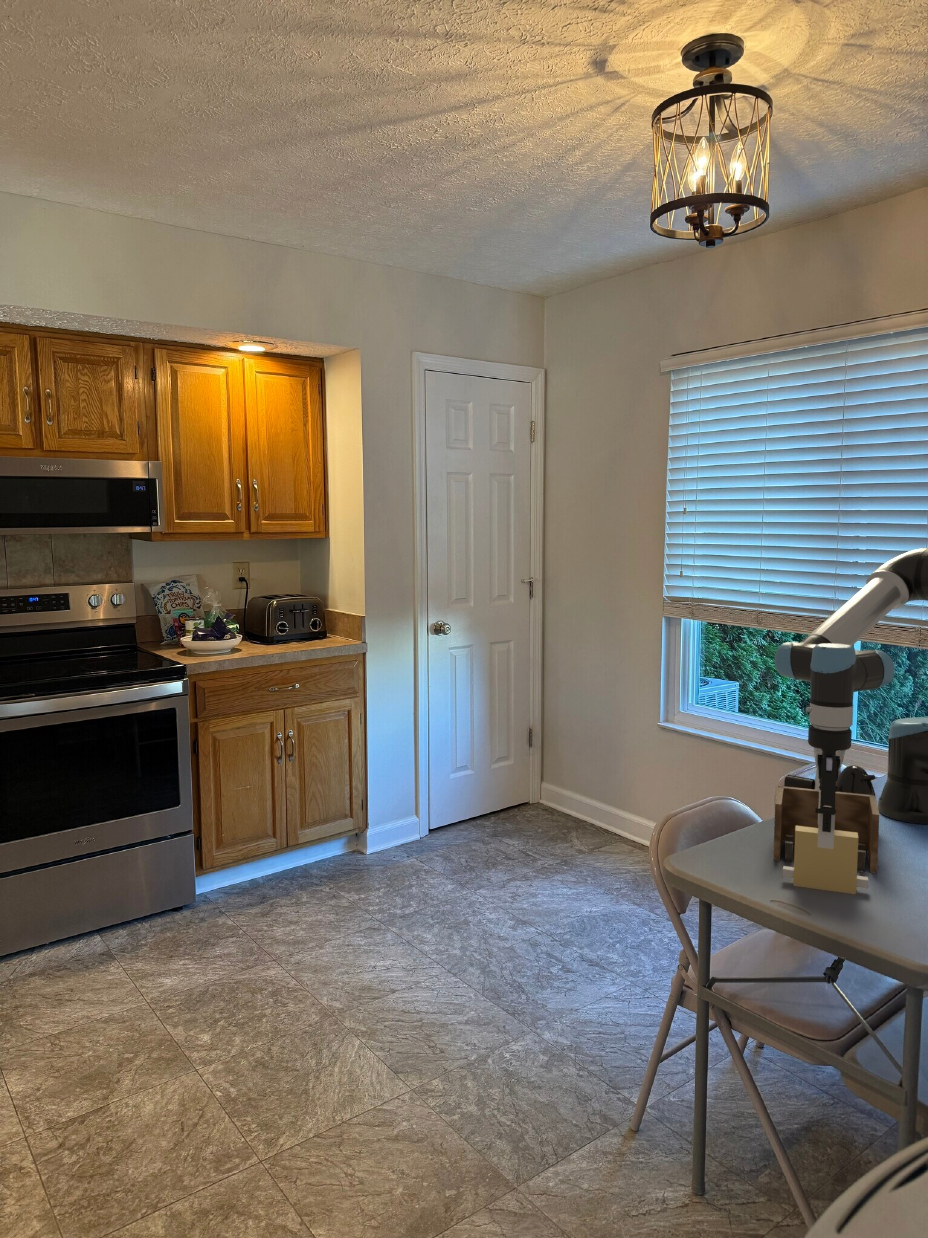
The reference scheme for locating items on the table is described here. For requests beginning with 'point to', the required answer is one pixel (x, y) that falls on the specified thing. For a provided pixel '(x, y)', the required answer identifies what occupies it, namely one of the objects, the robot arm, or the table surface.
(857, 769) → the pump dispenser
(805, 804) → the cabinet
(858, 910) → the table surface
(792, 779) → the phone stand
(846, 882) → the yellow rectangular block
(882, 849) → the table surface
